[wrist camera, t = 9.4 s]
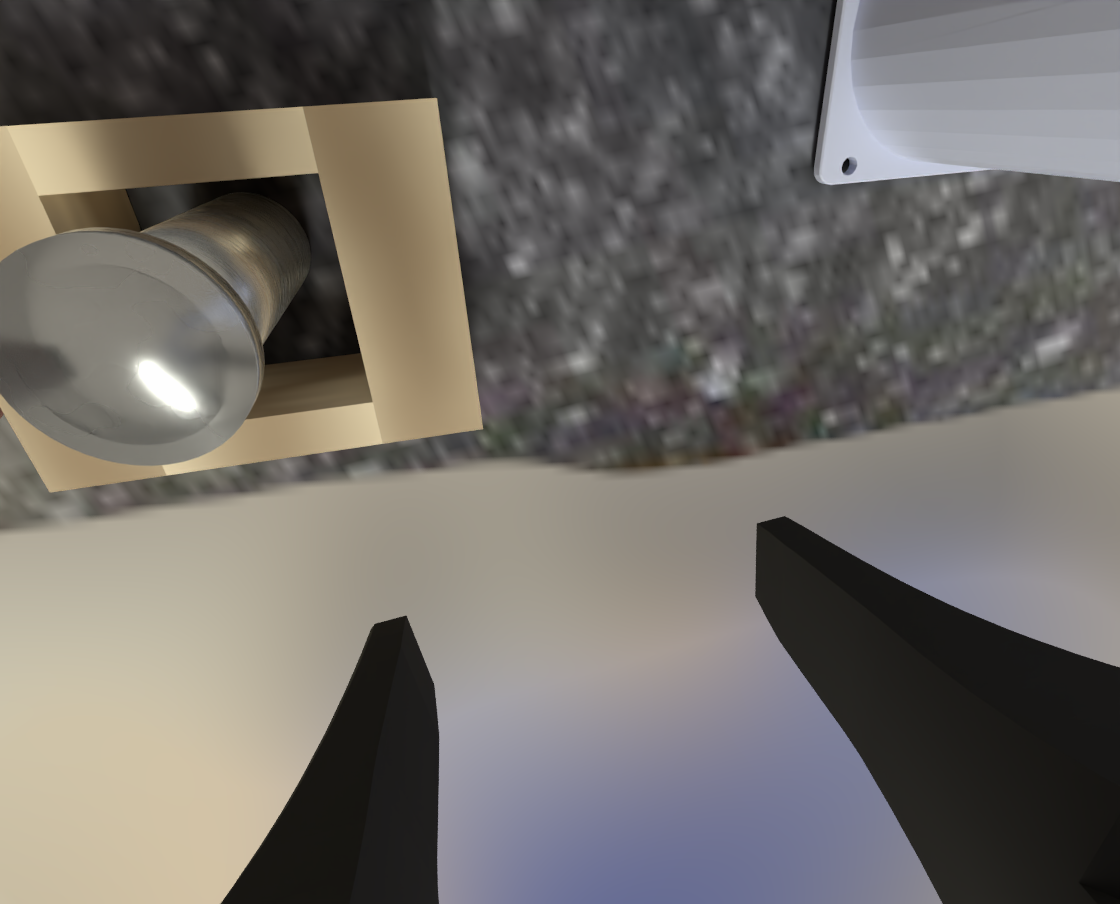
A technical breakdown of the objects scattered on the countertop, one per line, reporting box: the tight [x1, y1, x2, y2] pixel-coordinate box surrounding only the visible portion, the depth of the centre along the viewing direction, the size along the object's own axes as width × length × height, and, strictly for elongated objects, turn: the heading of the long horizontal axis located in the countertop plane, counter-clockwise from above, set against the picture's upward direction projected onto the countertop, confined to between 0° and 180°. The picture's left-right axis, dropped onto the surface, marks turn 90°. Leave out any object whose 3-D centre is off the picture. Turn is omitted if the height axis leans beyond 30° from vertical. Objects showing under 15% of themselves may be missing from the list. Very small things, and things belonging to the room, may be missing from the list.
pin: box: [0, 192, 311, 466], centre depth 13 cm, size 4×4×9 cm
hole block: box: [0, 98, 483, 492], centre depth 16 cm, size 11×8×4 cm
